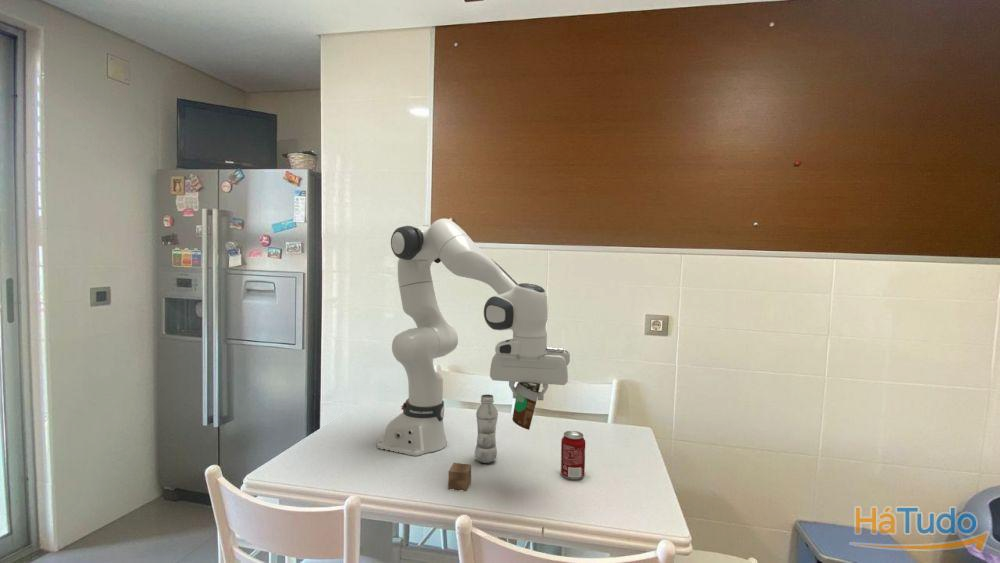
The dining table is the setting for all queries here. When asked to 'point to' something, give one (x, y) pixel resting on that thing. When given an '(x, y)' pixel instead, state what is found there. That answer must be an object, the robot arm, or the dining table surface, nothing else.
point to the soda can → (573, 455)
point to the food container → (525, 403)
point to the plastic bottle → (486, 430)
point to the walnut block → (459, 476)
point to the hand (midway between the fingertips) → (528, 398)
